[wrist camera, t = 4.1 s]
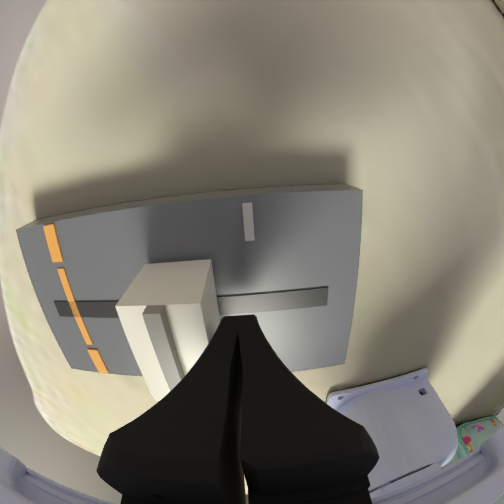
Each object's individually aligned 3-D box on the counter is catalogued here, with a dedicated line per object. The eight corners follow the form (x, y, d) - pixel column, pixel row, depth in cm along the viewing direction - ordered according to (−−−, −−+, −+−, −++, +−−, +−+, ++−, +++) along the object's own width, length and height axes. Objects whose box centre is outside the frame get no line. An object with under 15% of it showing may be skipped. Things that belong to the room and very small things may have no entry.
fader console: (346, 183, 13) (363, 190, 11) (335, 343, 16) (344, 365, 14) (35, 220, 13) (14, 230, 11) (82, 350, 16) (70, 369, 14)
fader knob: (211, 259, 11) (198, 312, 8) (225, 349, 13) (221, 410, 10) (145, 264, 11) (109, 314, 8) (169, 350, 13) (152, 408, 10)
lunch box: (502, 409, 29) (539, 472, 9) (469, 441, 32) (500, 503, 12) (453, 417, 24) (504, 521, 4) (405, 457, 27) (440, 555, 7)
